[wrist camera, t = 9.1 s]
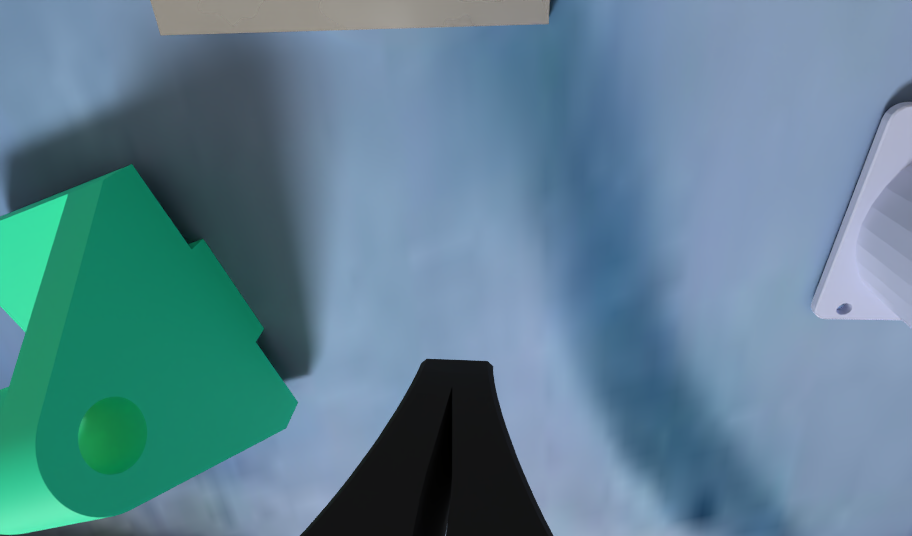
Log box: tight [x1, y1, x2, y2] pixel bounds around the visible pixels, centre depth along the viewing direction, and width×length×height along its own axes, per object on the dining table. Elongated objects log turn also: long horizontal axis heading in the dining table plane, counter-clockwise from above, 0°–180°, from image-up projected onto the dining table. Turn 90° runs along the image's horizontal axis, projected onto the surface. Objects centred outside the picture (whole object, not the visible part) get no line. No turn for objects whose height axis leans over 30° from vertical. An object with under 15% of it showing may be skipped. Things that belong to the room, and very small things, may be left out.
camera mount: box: [0, 164, 298, 535], centre depth 18 cm, size 12×8×10 cm, turn 21°
